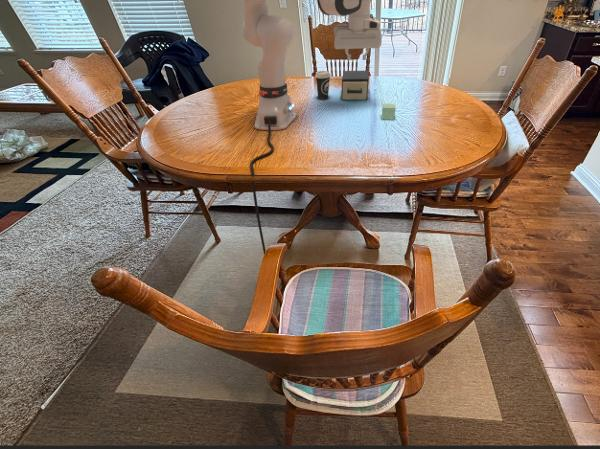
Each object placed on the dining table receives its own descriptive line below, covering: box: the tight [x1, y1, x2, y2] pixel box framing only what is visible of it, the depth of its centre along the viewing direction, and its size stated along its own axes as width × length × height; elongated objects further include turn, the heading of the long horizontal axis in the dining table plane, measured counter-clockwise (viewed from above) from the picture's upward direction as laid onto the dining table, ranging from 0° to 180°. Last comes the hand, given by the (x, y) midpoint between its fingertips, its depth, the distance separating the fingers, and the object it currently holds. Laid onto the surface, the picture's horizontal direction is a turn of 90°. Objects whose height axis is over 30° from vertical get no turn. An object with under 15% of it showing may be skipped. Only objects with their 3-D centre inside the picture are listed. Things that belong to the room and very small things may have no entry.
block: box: [381, 103, 397, 121], centre depth 131 cm, size 5×5×5 cm
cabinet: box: [340, 70, 370, 101], centre depth 154 cm, size 15×13×10 cm
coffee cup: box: [314, 70, 331, 100], centre depth 152 cm, size 8×8×12 cm
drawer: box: [342, 81, 368, 99], centre depth 150 cm, size 18×12×8 cm, turn 171°
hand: (356, 59), depth 135 cm, fingers open, 5 cm apart
